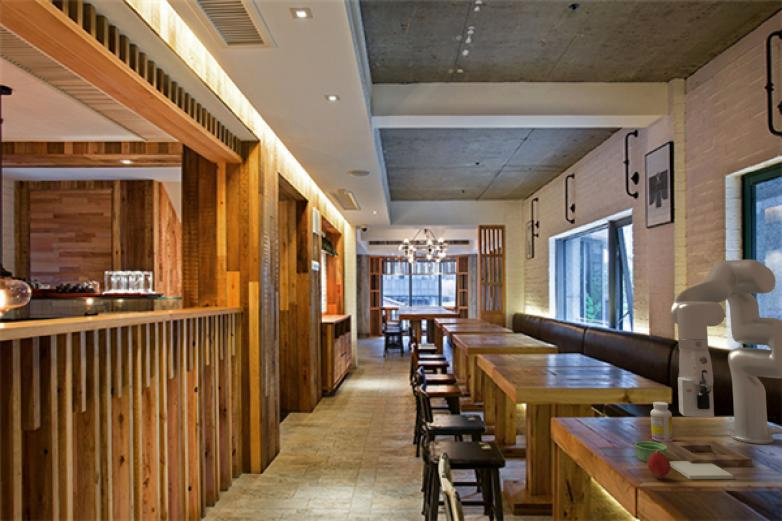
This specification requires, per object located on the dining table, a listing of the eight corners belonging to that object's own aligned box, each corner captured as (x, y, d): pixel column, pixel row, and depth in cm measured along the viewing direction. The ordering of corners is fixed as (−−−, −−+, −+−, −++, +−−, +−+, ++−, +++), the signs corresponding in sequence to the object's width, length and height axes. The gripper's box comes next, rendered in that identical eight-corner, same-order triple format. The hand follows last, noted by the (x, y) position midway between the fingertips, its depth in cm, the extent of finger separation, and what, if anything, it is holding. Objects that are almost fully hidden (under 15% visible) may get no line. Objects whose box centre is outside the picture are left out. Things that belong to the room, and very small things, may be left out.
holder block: (715, 447, 172) (715, 441, 173) (752, 466, 154) (751, 459, 155) (660, 448, 173) (660, 442, 173) (691, 466, 155) (691, 459, 155)
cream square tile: (707, 464, 157) (707, 460, 157) (733, 478, 145) (732, 475, 145) (667, 464, 157) (667, 461, 157) (689, 479, 145) (689, 475, 145)
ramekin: (670, 465, 156) (669, 450, 157) (637, 462, 159) (636, 448, 159) (664, 456, 165) (663, 442, 165) (633, 453, 168) (632, 440, 168)
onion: (643, 475, 149) (642, 446, 149) (662, 474, 149) (661, 445, 150) (655, 482, 143) (654, 453, 143) (675, 481, 143) (674, 452, 144)
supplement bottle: (668, 437, 185) (666, 401, 185) (676, 443, 178) (674, 405, 179) (648, 437, 185) (647, 400, 186) (656, 442, 179) (654, 405, 179)
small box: (708, 414, 153) (707, 378, 154) (714, 418, 148) (713, 381, 148) (678, 412, 156) (677, 376, 156) (682, 416, 150) (681, 379, 151)
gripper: (724, 348, 144) (727, 413, 143) (689, 341, 161) (692, 399, 160) (697, 348, 144) (700, 413, 143) (665, 341, 161) (667, 399, 161)
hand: (696, 405), depth 152 cm, fingers closed on small box, 6 cm apart
